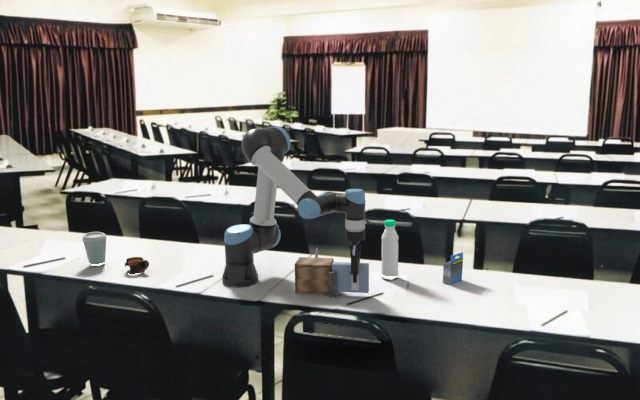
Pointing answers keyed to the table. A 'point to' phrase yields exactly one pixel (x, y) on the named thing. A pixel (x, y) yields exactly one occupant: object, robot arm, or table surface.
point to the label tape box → (453, 269)
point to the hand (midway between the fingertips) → (355, 288)
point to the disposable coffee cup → (95, 246)
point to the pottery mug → (136, 265)
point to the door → (345, 277)
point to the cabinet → (315, 276)
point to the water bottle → (390, 249)
